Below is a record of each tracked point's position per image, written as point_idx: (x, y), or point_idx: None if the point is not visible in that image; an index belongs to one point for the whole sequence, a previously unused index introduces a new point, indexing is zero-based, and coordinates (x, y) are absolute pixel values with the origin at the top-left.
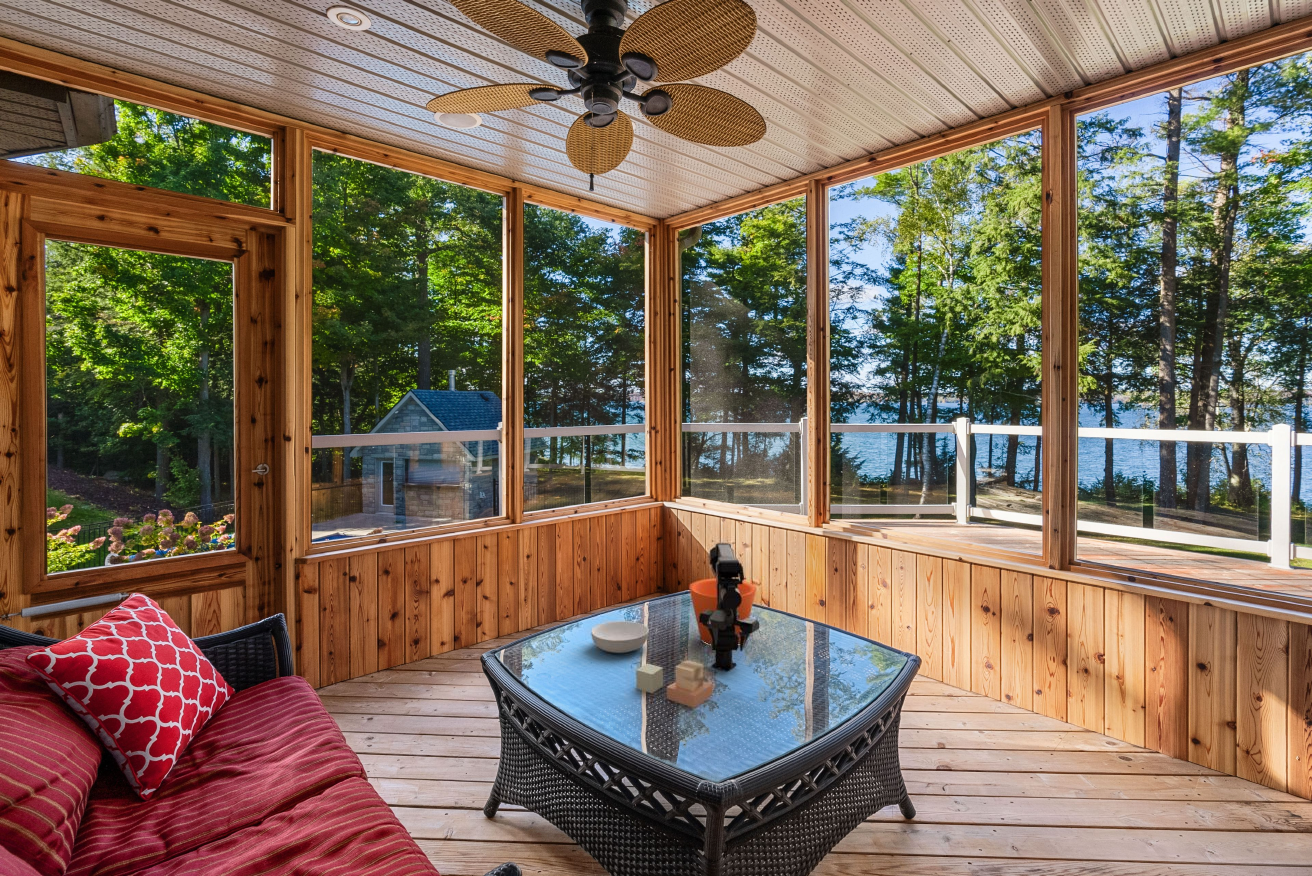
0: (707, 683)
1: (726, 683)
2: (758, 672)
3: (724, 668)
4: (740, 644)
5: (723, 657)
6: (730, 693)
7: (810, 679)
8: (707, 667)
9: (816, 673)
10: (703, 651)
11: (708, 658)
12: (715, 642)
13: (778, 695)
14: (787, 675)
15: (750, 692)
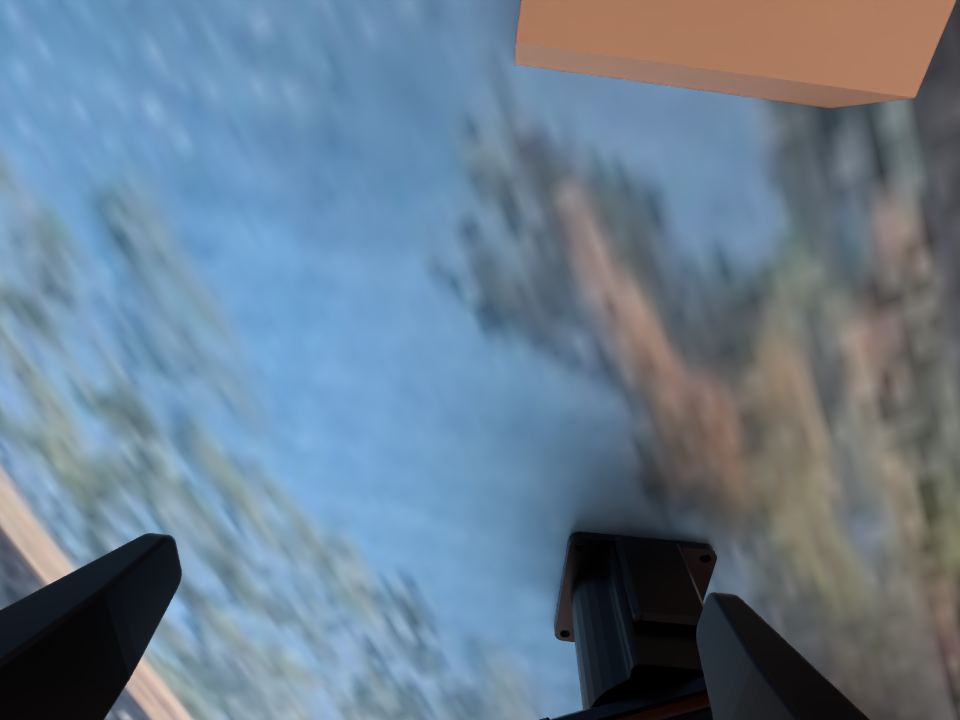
0: (580, 17)
1: (503, 354)
2: (383, 590)
3: (604, 548)
4: (25, 635)
5: (628, 616)
6: (394, 195)
7: None
8: (737, 532)
9: None
10: None
11: None
12: (726, 641)
13: (87, 345)
14: (217, 616)
15: (271, 294)
